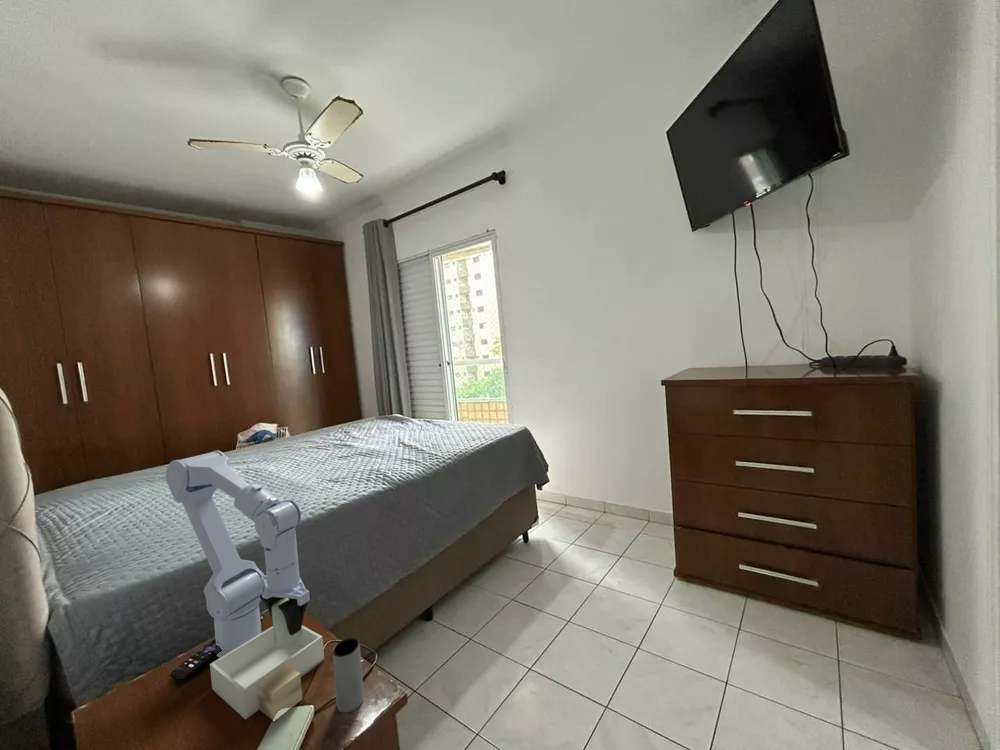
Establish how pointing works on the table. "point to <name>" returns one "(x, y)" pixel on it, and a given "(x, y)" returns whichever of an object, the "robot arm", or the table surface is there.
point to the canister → (282, 626)
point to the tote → (261, 666)
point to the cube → (279, 690)
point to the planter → (348, 674)
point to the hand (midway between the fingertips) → (287, 627)
